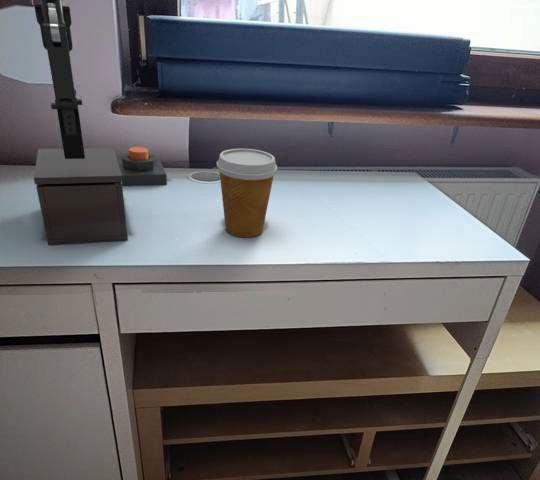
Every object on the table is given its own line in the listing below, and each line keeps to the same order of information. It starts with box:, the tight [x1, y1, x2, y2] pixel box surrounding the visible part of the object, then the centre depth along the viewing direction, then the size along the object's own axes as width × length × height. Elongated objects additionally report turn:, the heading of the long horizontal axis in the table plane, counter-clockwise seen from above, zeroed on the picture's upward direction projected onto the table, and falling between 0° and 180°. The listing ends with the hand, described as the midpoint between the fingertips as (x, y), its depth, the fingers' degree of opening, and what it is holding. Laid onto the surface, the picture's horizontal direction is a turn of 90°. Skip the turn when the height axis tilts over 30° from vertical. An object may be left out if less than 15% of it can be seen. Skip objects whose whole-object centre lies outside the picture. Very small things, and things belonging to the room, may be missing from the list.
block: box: [117, 152, 168, 187], centre depth 100 cm, size 10×9×4 cm
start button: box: [128, 146, 149, 160], centre depth 99 cm, size 4×4×2 cm
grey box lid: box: [33, 147, 122, 185], centre depth 76 cm, size 15×12×1 cm
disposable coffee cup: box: [216, 148, 278, 238], centre depth 81 cm, size 10×10×12 cm
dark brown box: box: [35, 182, 129, 246], centre depth 80 cm, size 15×12×9 cm
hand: (74, 157), depth 72 cm, fingers closed
